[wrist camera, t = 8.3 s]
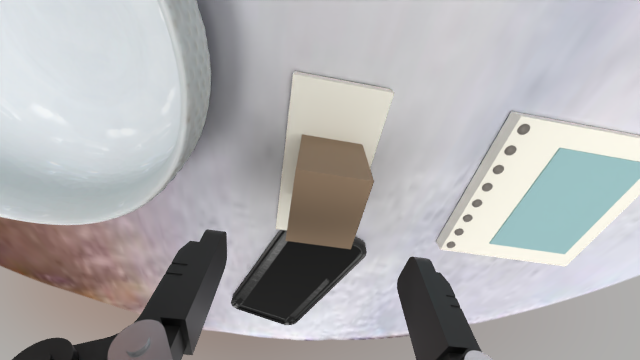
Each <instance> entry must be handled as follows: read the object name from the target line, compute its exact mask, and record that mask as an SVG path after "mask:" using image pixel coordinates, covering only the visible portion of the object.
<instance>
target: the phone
mask: <svg viewBox="0 0 640 360" xmlns="http://www.w3.org/2000/svg"><path fill="white" fill-rule="evenodd" d="M286 233H287V230H280V231H279V232H278V234H277V235H276V236H275V238H274V239H273V240H272V242H271V243H270V245H269V246H268V247H267V249H266V250H265V252H264V253H263V254H262V256H261V257H260V258H259V260H258V261H257V263H256V264H255V265H254V267H253V268H252V270H251V271H250V272H249V274H248V275H247V276H246V278H245V279H244V281H243V282H242V283H241V285H240V286H239V288H238V289H237V290H236V292H235V293H234V295H233V298H232V301H231V304H232V306H233V307H235V308H236V309H239V310H242V311H245V312H248V313H251V314H254V315H257V316H260V317H263V318H266V319H269V320H272V321H275V322H278V323H281V324H284V325H292V324H295V323H296V322H297V321H299V320H300V319H301V318H302V317H303V316H304V315H305V314H306V313H307V312H308V311H309V310H310V309H311V308H312V307H313V306H314V305H315V304H316V303H317V302H318V301H319V300H320V299H321V298H323V297H324V296H325V295H326V294H327V293H328V292H329V291H330V290H331V289H332V288H333V287H334V286H335V285H336V284H337V283H338V282H339V281H340V280H341V279H342V278H343V277H344V276H345V275H347V274H348V273H349V272H350V271H351V270H352V269H353V268H354V267H355V266H356V265H357V264H358V263H359V262H360V261H361V260H362V259H363V258H364V257H365V256H366V253H367V252H366V247H365V243H364V242H363V240H361V239H359V238H357V237H355V238H356V239H355V238H354V241H353V244H352V247H351V249H345V248H337V247H330V246H322V245H314V244H307V243H299V242H292V241H285V240H286Z"/></svg>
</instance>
